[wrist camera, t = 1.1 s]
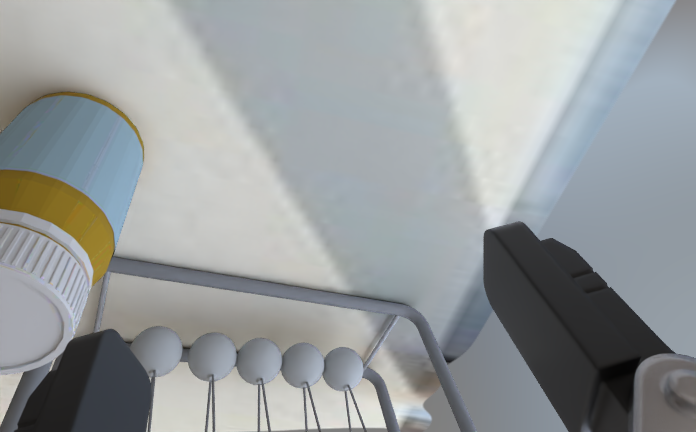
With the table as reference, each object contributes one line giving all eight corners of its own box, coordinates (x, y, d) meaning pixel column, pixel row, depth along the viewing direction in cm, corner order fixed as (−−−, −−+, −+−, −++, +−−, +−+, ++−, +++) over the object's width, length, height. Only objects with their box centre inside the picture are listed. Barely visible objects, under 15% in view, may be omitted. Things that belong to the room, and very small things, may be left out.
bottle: (105, 207, 31) (27, 401, 19) (-3, 145, 28) (-184, 340, 16) (168, 139, 29) (124, 308, 18) (61, 63, 26) (-88, 213, 14)
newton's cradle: (62, 342, 38) (-40, 614, 24) (76, 247, 33) (-43, 518, 19) (377, 372, 49) (436, 566, 35) (422, 305, 44) (511, 499, 30)
